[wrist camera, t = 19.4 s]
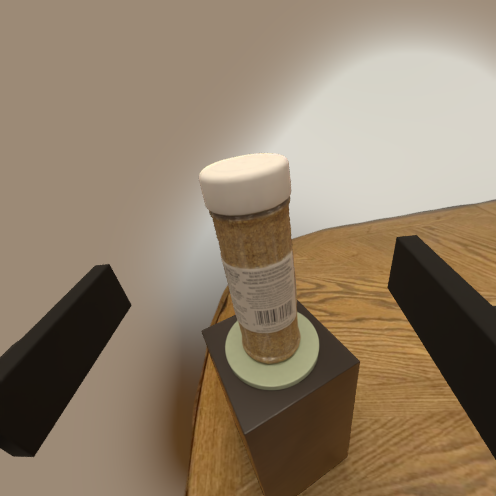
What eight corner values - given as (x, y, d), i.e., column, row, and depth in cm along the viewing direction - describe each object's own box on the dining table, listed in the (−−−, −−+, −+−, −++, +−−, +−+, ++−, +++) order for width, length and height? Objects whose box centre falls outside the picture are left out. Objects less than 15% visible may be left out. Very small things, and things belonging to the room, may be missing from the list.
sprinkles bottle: (295, 314, 21) (283, 146, 14) (305, 364, 17) (295, 164, 10) (242, 320, 21) (204, 158, 14) (240, 369, 17) (187, 181, 10)
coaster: (251, 412, 15) (249, 408, 15) (214, 332, 21) (212, 329, 21) (340, 357, 18) (341, 353, 17) (285, 299, 23) (284, 294, 23)
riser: (271, 515, 23) (244, 435, 14) (234, 419, 30) (201, 330, 22) (347, 456, 25) (360, 361, 17) (296, 382, 32) (287, 290, 24)
